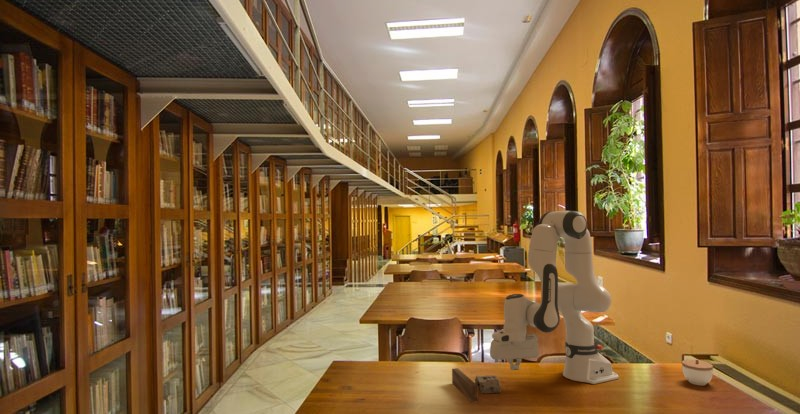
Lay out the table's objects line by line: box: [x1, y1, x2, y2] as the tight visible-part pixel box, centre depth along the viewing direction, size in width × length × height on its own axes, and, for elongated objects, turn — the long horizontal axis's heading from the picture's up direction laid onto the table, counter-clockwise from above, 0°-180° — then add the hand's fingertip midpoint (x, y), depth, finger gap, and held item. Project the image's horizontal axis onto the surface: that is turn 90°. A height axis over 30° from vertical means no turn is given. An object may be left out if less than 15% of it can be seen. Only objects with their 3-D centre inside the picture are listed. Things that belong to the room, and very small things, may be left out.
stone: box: [474, 375, 501, 394], centre depth 185 cm, size 13×6×10 cm
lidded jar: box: [681, 358, 714, 386], centre depth 190 cm, size 11×11×9 cm
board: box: [451, 368, 479, 403], centre depth 182 cm, size 2×20×6 cm, turn 14°
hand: (514, 369), depth 187 cm, fingers closed
